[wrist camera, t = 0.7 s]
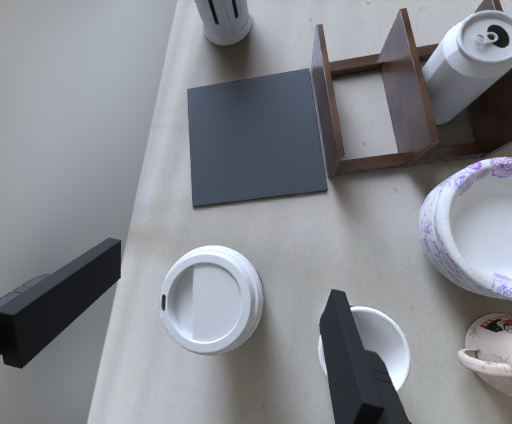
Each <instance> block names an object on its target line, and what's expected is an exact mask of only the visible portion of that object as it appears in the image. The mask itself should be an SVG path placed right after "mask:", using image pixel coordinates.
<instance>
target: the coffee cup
mask: <svg viewBox="0 0 512 424" xmlns="http://www.w3.org/2000/svg"><path fill="white" fill-rule="evenodd" d="M263 300H264V299H263V289H262V284H261V279H260V276H259V274H258V272H257V271H256V269H255V268H254V267H253V266H252V264H251V263H250V262H249V261H248V260H247V259H246V258H245V257H244V256H242V255H241V254H240V253H238V252H236V251H234V250H232V249H230V248H227V247H223V246H204V247H200V248H197V249H194V250H192V251H190V252H189V253H187V254H185V255H184V256H183V257H181V258H180V259H179V260H178V261H177V262H176V263H175V264H174V265H173V266H172V268H171V269H170V271H169V272H168V274H167V276H166V278H165V280H164V283H163V286H162V289H161V294H160V314H161V319H162V322H163V324H164V327H165V329H166V330H167V332H168V334H169V335H170V336H171V337H172V339H173V340H174V341H175V342H177V343H178V344H179V345H180V346H182V347H183V348H185V349H187V350H189V351H191V352H193V353H196V354H200V355H207V356H213V355H220V354H224V353H227V352H230V351H232V350H234V349H236V348H238V347H239V346H241V345H242V344H243V343H244V342H246V341H247V340H248V339H249V337H250V336H251V335H252V334H253V332H254V331H255V329H256V327H257V325H258V323H259V321H260V318H261V315H262V310H263Z"/></svg>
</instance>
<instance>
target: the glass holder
mask: <svg viewBox="0 0 512 424" xmlns="http://www.w3.org/2000/svg"><path fill="white" fill-rule="evenodd" d="M195 2H196V5H197V8H198V11H199V13H200V16H201V19H202V22H203V32H204V35H205V37H206V38H207V39H208V40H209V41H210V42H212V43H214V44H216V45H222V46H226V45H231V44H235V43H237V42H239V41H240V40H242V39H243V38H244V37H245V36H246V35H247V34H248V32H249V31H250V29H251V26H252V15H251V13H250V11H249V9H248V7H247V0H195Z"/></svg>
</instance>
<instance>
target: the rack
mask: <svg viewBox="0 0 512 424" xmlns="http://www.w3.org/2000/svg"><path fill="white" fill-rule="evenodd" d="M486 10H497V11H502V12H503V10H502V7H501V4H500V1H499V0H484V1H483V2H482V3H481V5H480V6H479V7H478V9H477V10H476V11H475V13H477V12H480V11H486ZM439 44H440V43H439ZM439 44H433V45H428V46H422V47H416V44H415V41H414V37H413V33H412V29H411V25H410V21H409V17H408V13H407V9H406V8H404V9H400V10H399V12H398V15H397V17H396V19H395V21H394V24H393V26H392V28H391V30H390V33H389V35H388V37H387V39H386V42H385V44H384V46H383V48H382V51H381V53H380V54H375V55H369V56H363V57H358V58H352V59H346V60H340V61H334V62H329V61H328V55H327V49H326V43H325V37H324V31H323V26H322V24H319V25H316V31H315V39H314V48H313V56H312V65H311V74H312V80H313V87H314V93H315V100H316V106H317V112H318V119H319V125H320V132H321V138H322V145H323V151H324V158H325V164H326V171H327V177H332V176H333V175H338V174H345V173H353V172H361V171H369V170H377V169H385V168H393V167H401V166H402V168H403V167H408V166H409V165H416V164H424V163H432V162H440V161H448V160H456V159H464V158H472V157H481V158H482V157H487V156H489V155H491V154H493V153H495V152H497V151H499V150H501V149H503V148H504V147H506V146H508V145H510V144H512V68H511V69H510V70H509V71H508V72H506V73H505V74H504V75H503V76H502V77H501V78H500V79H498V80H497V81H496V82H495V83H494V84H493V85H491V86H490V87H489V88H488V89H487V90H486V91H484V92H483V93H482V94H481V95H480V96H479V97H477V98H476V99H475V100H474V101H473V102H472V103H471V104H469V105H468V106H467V107H466V108H467V111H468V115H469V118H470V122H471V125H472V129H473V132H474V136H475V140H476V143H472V144H464V145H457V146H449V147H442V148H434V149H431V148H432V147H433V146H435V145H436V144H437V143H439V142H440V140H439V136H438V132H437V128H436V124H435V120H434V116H433V112H432V108H431V104H430V100H429V96H428V92H427V88H426V84H425V80H424V76H423V72H422V68H421V64H420V61H426V60H429V58H430V57H431V55H432V54H433V53H434V51H435V50H436V48H437V47H438V45H439ZM378 68H380V69H381V74H382V78H383V83H384V88H385V92H386V97H387V101H388V106H389V111H390V115H391V120H392V125H393V129H394V134H395V139H396V143H397V148H398V153H396V154H389V155H381V156H373V157H366V158H358V159H351V160H343V161H341V160H342V158H343V156H344V148H343V142H342V136H341V131H340V125H339V119H338V113H337V107H336V101H335V96H334V90H333V84H332V78H331V76H336V75H342V74H348V73H354V72H360V71H366V70H372V69H378Z"/></svg>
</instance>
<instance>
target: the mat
mask: <svg viewBox="0 0 512 424" xmlns="http://www.w3.org/2000/svg"><path fill="white" fill-rule="evenodd" d="M187 93H188V115H189V137H190V159H191V180H192V202H193V207H196V206H204V205H212V204H221V203H229V202H237V201H246V200H254V199H262V198H270V197H279V196H287V195H295V194H303V193H312V192H320V191H327V190H328V189H327V182H326V176H325V169H324V163H323V156H322V150H321V143H320V137H319V130H318V124H317V117H316V111H315V104H314V97H313V91H312V84H311V78H310V71H309V68H308V69H302V70H296V71H290V72H285V73H279V74H273V75H267V76H261V77H255V78H249V79H244V80H238V81H232V82H226V83H220V84H214V85H208V86H203V87H197V88H191V89H187Z"/></svg>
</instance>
